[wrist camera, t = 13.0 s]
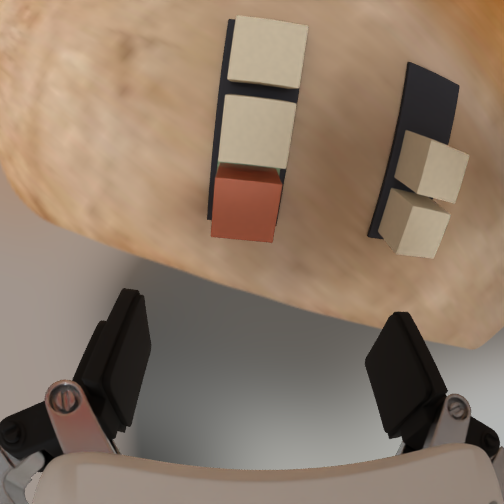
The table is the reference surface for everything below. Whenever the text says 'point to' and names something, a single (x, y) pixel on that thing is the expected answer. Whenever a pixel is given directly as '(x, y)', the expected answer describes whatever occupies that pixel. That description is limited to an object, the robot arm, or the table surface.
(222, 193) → the rust orange cube
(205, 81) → the table surface
